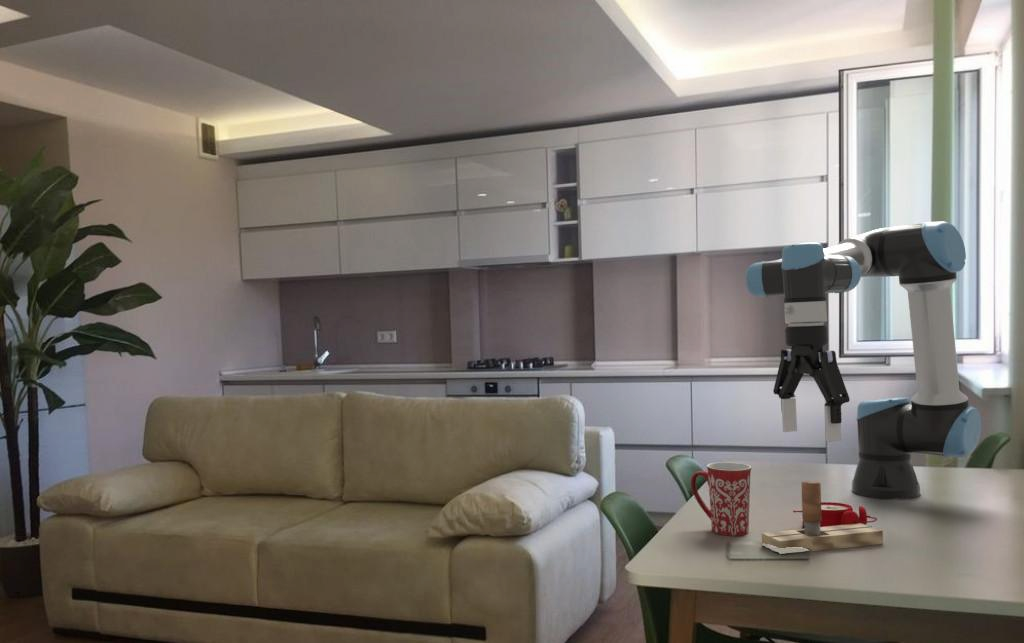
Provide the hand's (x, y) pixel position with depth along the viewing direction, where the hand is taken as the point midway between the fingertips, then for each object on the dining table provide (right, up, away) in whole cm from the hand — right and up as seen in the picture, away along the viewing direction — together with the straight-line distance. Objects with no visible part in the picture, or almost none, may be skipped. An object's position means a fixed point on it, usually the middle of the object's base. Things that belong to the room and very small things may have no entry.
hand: (810, 436), depth 147 cm
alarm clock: (+10, -21, +11) cm, 25 cm away
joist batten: (+2, -21, 0) cm, 21 cm away
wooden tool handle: (0, -21, 0) cm, 21 cm away
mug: (-13, -22, +13) cm, 28 cm away
